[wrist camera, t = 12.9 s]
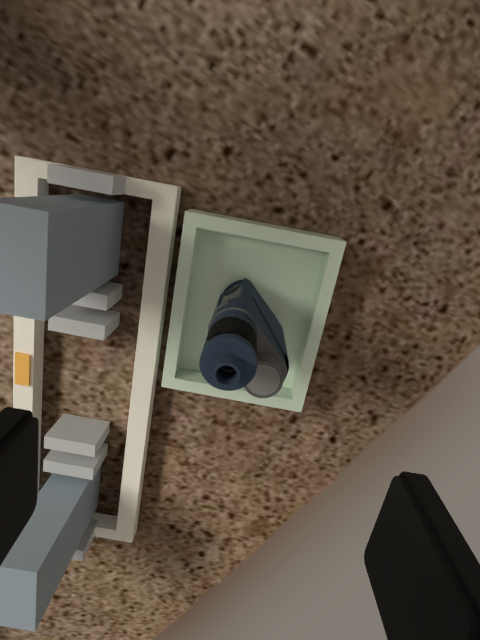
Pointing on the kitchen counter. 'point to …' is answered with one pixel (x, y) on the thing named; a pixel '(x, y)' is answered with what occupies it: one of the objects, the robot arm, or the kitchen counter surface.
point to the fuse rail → (82, 320)
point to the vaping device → (244, 344)
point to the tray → (269, 280)
